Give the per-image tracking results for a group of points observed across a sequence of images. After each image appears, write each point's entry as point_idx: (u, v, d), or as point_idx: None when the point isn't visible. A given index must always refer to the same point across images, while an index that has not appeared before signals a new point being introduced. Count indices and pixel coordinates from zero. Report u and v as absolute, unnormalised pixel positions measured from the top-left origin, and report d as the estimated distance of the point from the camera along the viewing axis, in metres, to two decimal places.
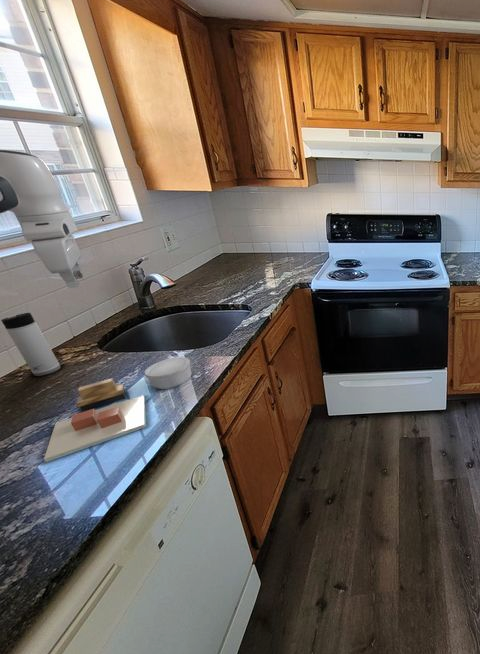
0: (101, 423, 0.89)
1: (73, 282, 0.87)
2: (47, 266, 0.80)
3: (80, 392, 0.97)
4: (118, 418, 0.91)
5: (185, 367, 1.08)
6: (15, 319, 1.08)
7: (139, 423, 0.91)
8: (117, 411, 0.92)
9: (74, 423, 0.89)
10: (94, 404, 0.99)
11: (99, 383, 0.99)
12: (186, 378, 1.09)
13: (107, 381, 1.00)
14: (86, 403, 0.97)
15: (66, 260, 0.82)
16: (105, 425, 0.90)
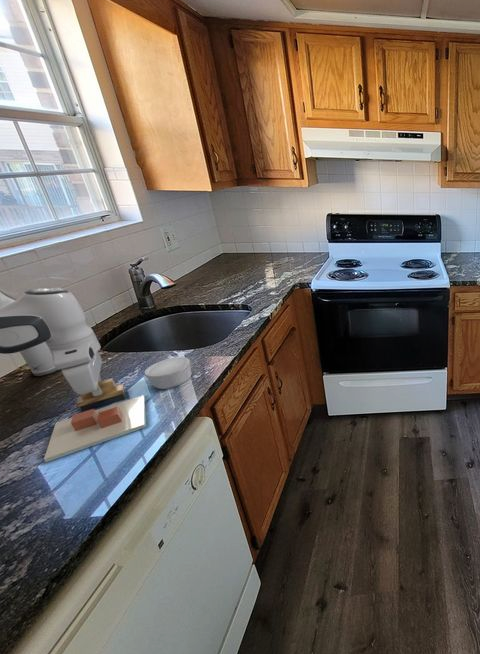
0: (101, 423, 0.89)
1: (98, 390, 0.98)
2: (75, 390, 0.89)
3: None
4: (118, 418, 0.91)
5: (185, 367, 1.08)
6: None
7: (139, 423, 0.91)
8: (117, 411, 0.92)
9: (74, 423, 0.89)
10: (94, 404, 0.99)
11: (99, 383, 0.99)
12: (186, 378, 1.09)
13: (107, 381, 1.00)
14: (86, 403, 0.97)
15: (92, 382, 0.91)
16: (105, 425, 0.90)
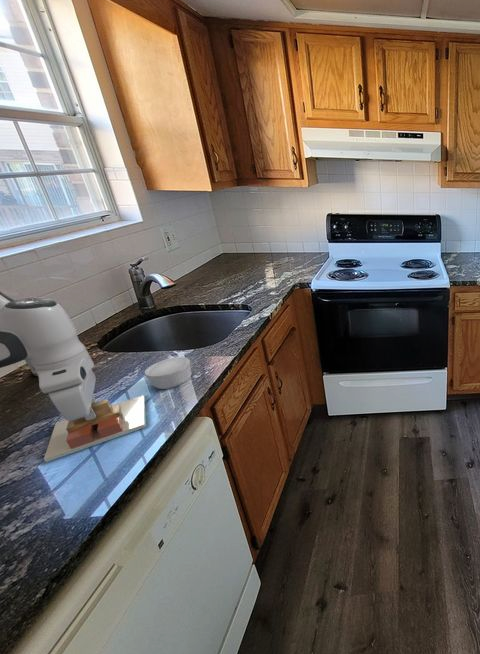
0: (101, 433, 0.86)
1: (91, 414, 0.87)
2: (64, 416, 0.78)
3: None
4: (119, 427, 0.88)
5: (185, 367, 1.08)
6: None
7: (139, 423, 0.91)
8: (118, 420, 0.88)
9: (70, 441, 0.83)
10: None
11: (92, 405, 0.88)
12: (186, 378, 1.09)
13: (102, 403, 0.89)
14: None
15: (84, 407, 0.79)
16: (105, 435, 0.87)
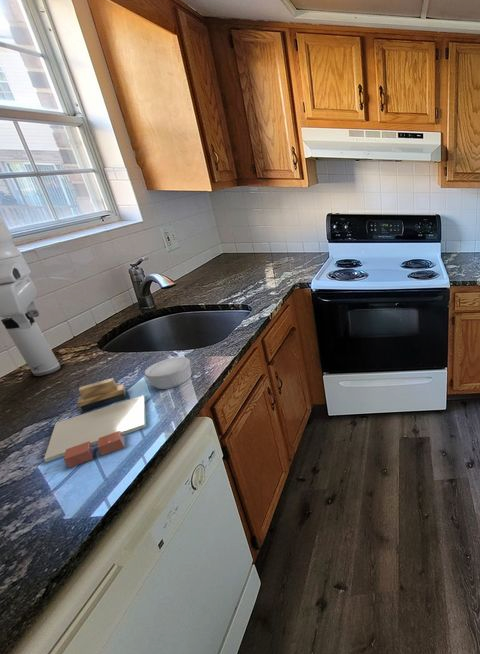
0: (102, 450, 0.82)
1: (26, 323, 0.89)
2: None
3: (81, 392, 0.97)
4: (120, 444, 0.84)
5: (185, 367, 1.08)
6: None
7: (139, 423, 0.91)
8: (119, 436, 0.85)
9: (67, 459, 0.79)
10: (95, 403, 0.99)
11: (100, 383, 0.99)
12: (186, 378, 1.09)
13: (108, 381, 1.00)
14: (87, 403, 0.98)
15: (16, 304, 0.84)
16: (106, 452, 0.83)
